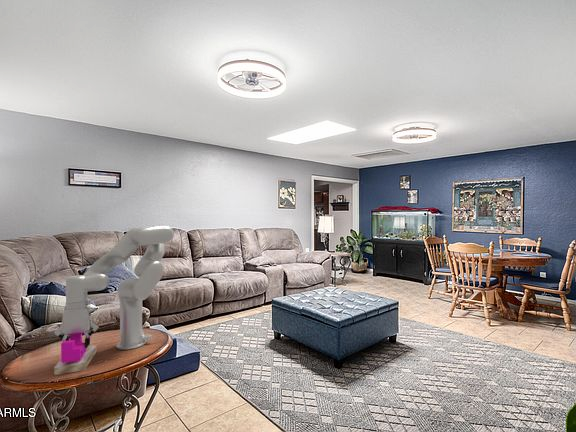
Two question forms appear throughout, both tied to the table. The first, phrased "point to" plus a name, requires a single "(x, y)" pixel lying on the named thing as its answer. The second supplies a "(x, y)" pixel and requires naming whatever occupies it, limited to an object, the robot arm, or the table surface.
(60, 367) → the plinth
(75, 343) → the toy block
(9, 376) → the table surface
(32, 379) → the table surface
